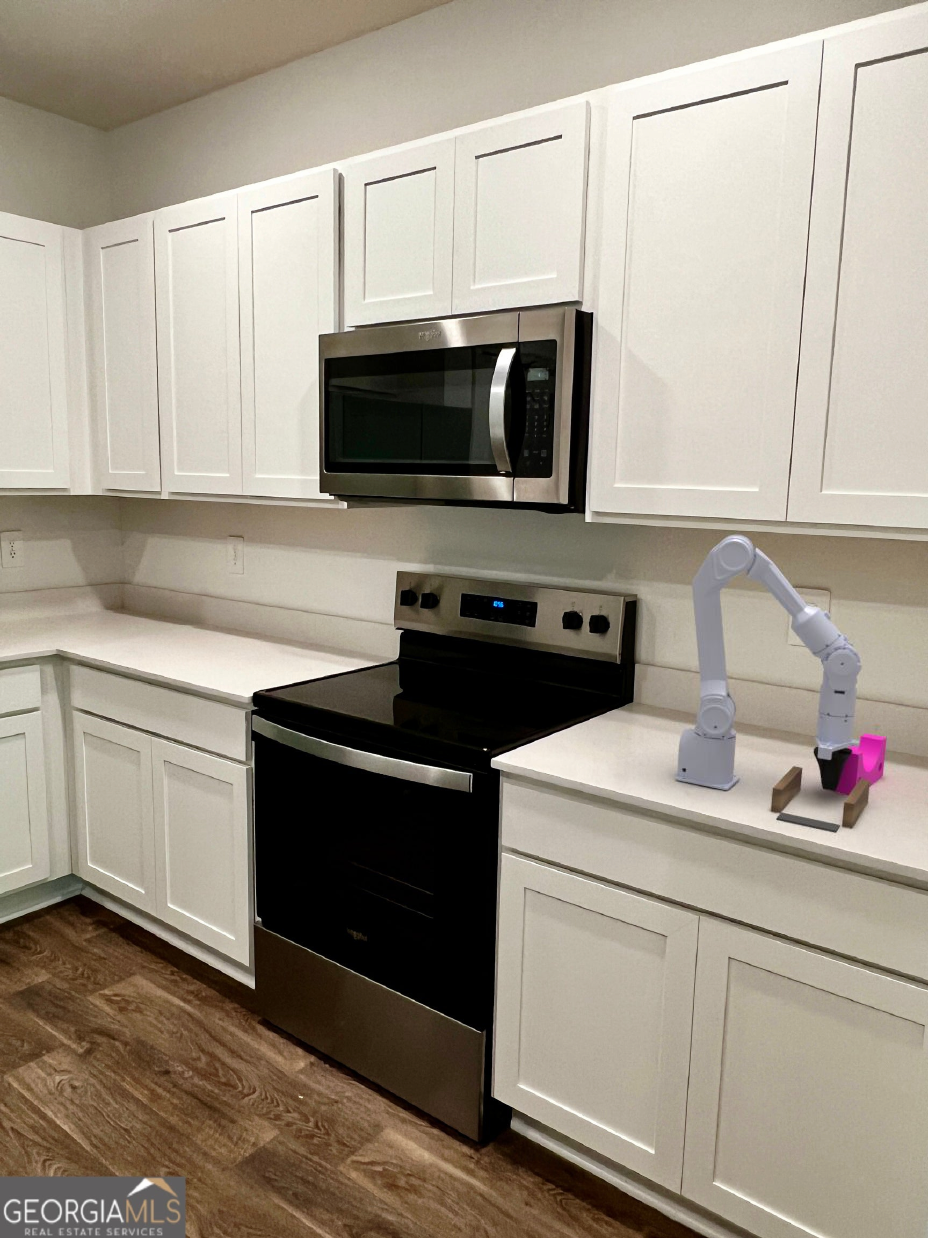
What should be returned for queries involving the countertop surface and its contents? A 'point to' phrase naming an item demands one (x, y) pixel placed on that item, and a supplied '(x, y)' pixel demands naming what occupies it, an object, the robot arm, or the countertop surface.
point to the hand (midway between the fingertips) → (829, 789)
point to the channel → (792, 785)
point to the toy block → (863, 763)
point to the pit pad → (808, 822)
